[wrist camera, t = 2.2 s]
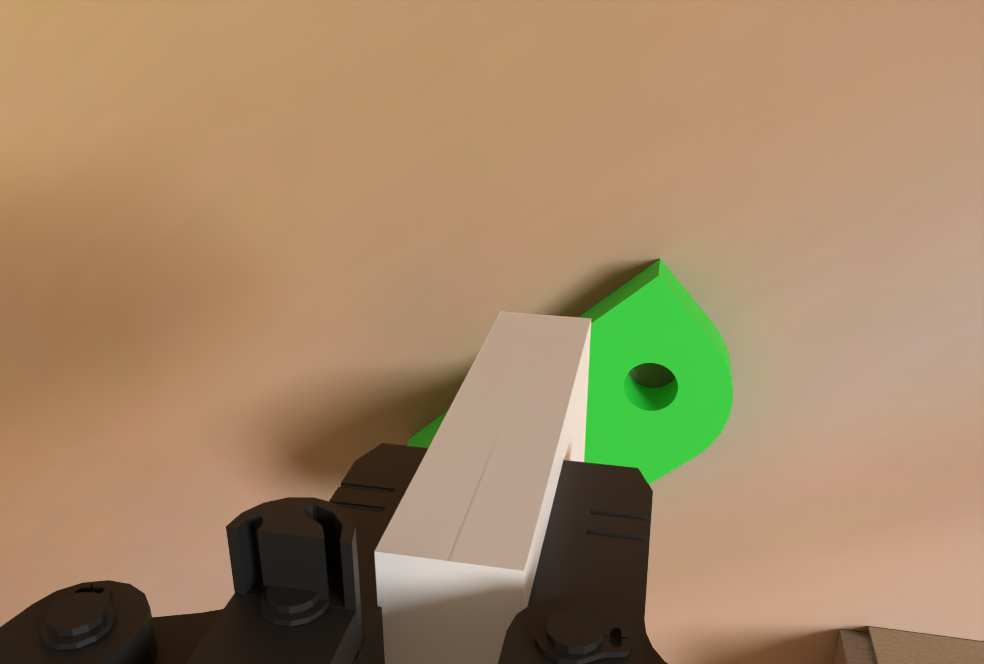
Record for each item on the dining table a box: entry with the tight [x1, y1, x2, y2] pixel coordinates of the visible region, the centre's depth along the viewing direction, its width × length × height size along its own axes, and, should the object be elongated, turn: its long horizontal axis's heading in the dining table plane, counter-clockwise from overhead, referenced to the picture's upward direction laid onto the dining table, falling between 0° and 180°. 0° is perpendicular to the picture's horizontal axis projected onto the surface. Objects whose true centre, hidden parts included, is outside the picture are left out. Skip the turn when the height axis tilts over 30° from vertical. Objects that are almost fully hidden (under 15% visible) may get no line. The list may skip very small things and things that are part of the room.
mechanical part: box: [406, 259, 733, 484], centre depth 30 cm, size 12×6×8 cm, turn 131°
